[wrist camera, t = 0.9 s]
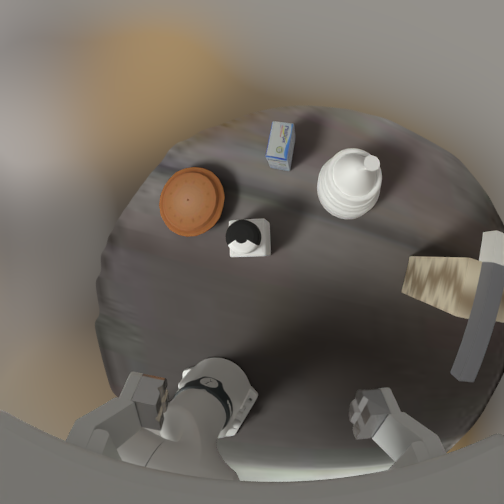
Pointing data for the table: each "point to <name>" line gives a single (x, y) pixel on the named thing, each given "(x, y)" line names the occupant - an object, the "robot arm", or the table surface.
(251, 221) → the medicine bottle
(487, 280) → the dark gray bar
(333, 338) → the table surface
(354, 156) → the honey pot
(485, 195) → the table surface
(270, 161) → the medicine box
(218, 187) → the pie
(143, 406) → the robot arm
